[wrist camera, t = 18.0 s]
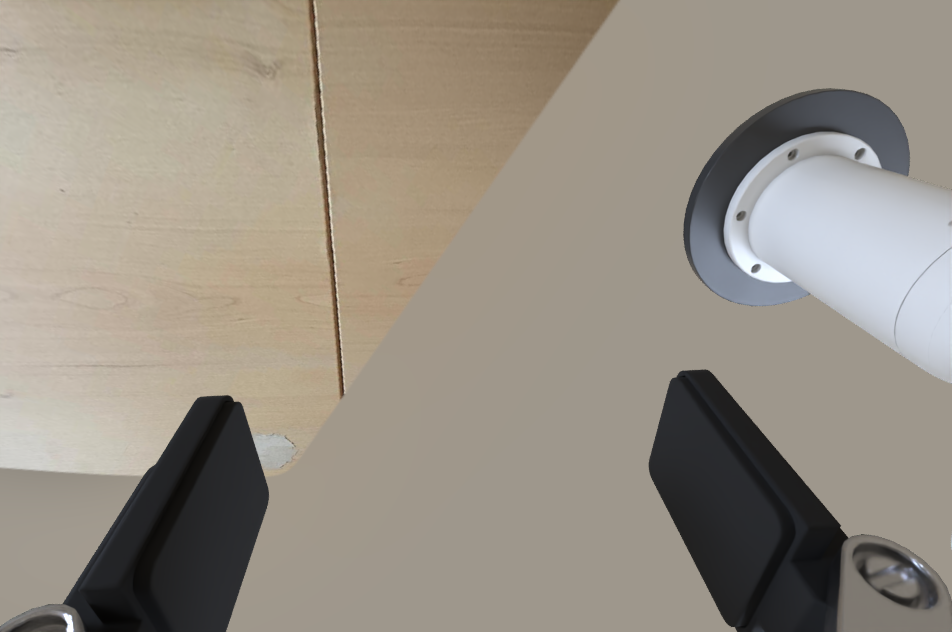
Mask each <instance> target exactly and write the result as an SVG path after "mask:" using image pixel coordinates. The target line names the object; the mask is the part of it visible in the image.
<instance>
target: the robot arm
mask: <svg viewBox="0 0 952 632" xmlns="http://www.w3.org/2000/svg"><path fill="white" fill-rule="evenodd" d="M724 243H725V246H726V249H727V252H728V255H729V256H730V258H731V259H732V261H733V263H734V264H735V265H736V266H738V267H739V268H740V269H741V270H742V271H743V272H745V273H746V274H747V275H749V276H751V277H753V278H755V279H758V280H760V281H765V282H771V283H781V282H790V281H793V282H794V283H795V284H797V285H798V286H800V287H801V288H803V289H804V290H806V291H807V292H809V293H810V294H812V295H813V296H815V297H816V298H818V299H819V300H821V301H822V302H824V303H825V304H827V305H828V306H829V307H831V308H832V309H834V310H835V311H837V312H838V313H840V314H841V315H843V316H844V317H846V318H847V319H849V320H850V321H852V322H853V323H855V324H856V325H858V326H859V327H860V328H862V329H863V330H865V331H866V332H868V333H869V334H871V335H872V336H874V337H875V338H877V339H878V340H880V341H881V342H883V343H884V344H885V345H887V346H889V347H890V348H892V349H893V350H895V351H896V352H897V353H899V354H901V355H902V356H904V357H905V358H907V359H908V360H910V361H911V362H913V363H914V364H916V365H917V366H919V367H920V368H922V369H923V370H925V371H926V372H928V373H930V374H932V375H933V376H935V377H937V378H939V379H942V380H944V381H946V382H949V383H951V384H952V189H948V188H945V187H942V186H938V185H935V184H932V183H928V182H925V181H922V180H918V179H915V178H911V177H908V176H905V175H902V174H898V173H895V172H891V171H888V170H885V169H882V167H881V165H880V162H879V159H878V156H877V155H876V154H875V152H874V151H873V150H872V148H871V147H870V146H869V145H868V144H866V143H865V142H864V141H862V140H861V139H859V138H856V137H853V136H850V135H848V134H843V133H838V132H816V133H811V134H806V135H802V136H800V137H797V138H795V139H792V140H790V141H788V142H786V143H784V144H782V145H781V146H779V147H777V148H776V149H774V150H773V151H771V152H770V153H769V154H768V155H766V156H765V157H764V158H763V159H761V160H760V161H759V162H758V163H757V164H756V165H755V166H754V167H753V168H752V169H751V170H750V171H749V173H748V174H747V175H746V176H745V178H744V179H743V180H742V182H741V183H740V185H739V186H738V188H737V189H736V191H735V193H734V195H733V197H732V199H731V201H730V204H729V207H728V210H727V213H726V216H725V223H724ZM649 472H650V475H651V478H652V480H653V482H654V484H655V486H656V488H657V490H658V492H659V494H660V496H661V498H662V500H663V502H664V504H665V506H666V508H667V509H668V511H669V513H670V515H671V517H672V519H673V521H674V523H675V525H676V527H677V529H678V531H679V533H680V535H681V537H682V539H683V541H684V543H685V545H686V546H687V549H688V551H689V552H690V554H691V556H692V558H693V560H694V562H695V564H696V566H697V568H698V570H699V572H700V574H701V576H702V578H703V580H704V582H705V584H706V586H707V588H708V590H709V592H710V593H711V596H712V598H713V599H714V601H715V603H716V605H717V607H718V609H719V611H720V613H721V615H722V617H723V619H724V620H725V622H726V623H727V624H728V625H729V626H731V627H735V628H736V630H737V632H952V601H951V597H950V594H949V592H948V589H947V586H946V585H945V583H944V582H943V581H942V579H941V578H940V576H939V575H938V574H937V572H936V571H934V570H933V569H932V568H931V567H930V566H929V565H928V564H927V563H926V562H925V561H924V560H923V559H921V558H920V557H918V556H917V555H916V554H914V553H913V552H911V551H910V550H909V549H907V548H905V547H903V546H901V545H899V544H897V543H895V542H893V541H890V540H888V539H885V538H882V537H878V536H872V535H864V534H861V535H856V536H852V537H850V538H848V537H847V536H846V534H845V533H844V532H843V531H842V530H841V529H840V526H841V525H840V524H839V523H838V522H837V520H836V519H835V518H834V517H833V516H832V514H831V513H830V512H829V511H828V510H827V509H826V507H825V506H824V505H823V504H822V503H821V501H820V500H819V499H818V498H817V497H816V496H815V495H814V493H813V492H812V491H811V490H810V488H809V487H808V486H807V485H806V484H805V483H804V481H803V480H802V479H801V478H800V477H799V476H798V474H797V473H796V472H795V471H794V470H793V468H792V467H791V466H790V465H789V464H788V462H787V461H786V460H785V459H784V458H783V457H782V456H781V454H780V453H779V452H778V451H777V450H776V448H775V447H774V446H773V445H772V444H771V442H770V441H769V440H768V439H767V438H766V436H765V435H764V434H763V433H762V432H761V431H760V429H759V428H758V427H757V426H756V425H755V424H754V423H753V421H752V420H751V419H750V418H749V416H748V415H747V414H746V413H745V412H744V410H742V408H741V407H740V406H739V405H738V403H737V402H736V401H735V400H734V399H733V397H732V396H731V395H730V394H729V393H728V392H727V390H726V389H725V388H724V387H723V386H722V384H721V383H720V382H719V381H718V380H717V379H716V377H715V376H714V375H713V374H712V373H711V372H710V371H708V370H689V371H681V372H679V374H678V375H677V377H676V378H672V380H671V381H670V384H669V388H668V391H667V395H666V399H665V403H664V406H663V410H662V414H661V418H660V422H659V425H658V429H657V433H656V437H655V441H654V444H653V448H652V452H651V456H650V460H649ZM268 500H269V491H268V486H267V483H266V480H265V476H264V473H263V470H262V467H261V463H260V460H259V457H258V454H257V451H256V447H255V444H254V441H253V438H252V435H251V431H250V428H249V425H248V422H247V419H246V415H245V412H244V409H243V406H242V404H241V403H240V402H234V401H233V398H232V397H231V396H228V395H225V396H206V397H199V398H197V400H196V401H195V402H194V404H193V405H192V407H191V409H190V410H189V412H188V413H187V415H186V417H185V418H184V420H183V421H182V423H181V425H180V426H179V428H178V429H177V431H176V433H175V434H174V436H173V438H172V439H171V441H170V442H169V444H168V446H167V447H166V449H165V450H164V452H163V454H162V455H161V457H160V458H159V460H158V462H157V463H156V465H154V466H152V467H151V468H149V470H148V471H147V472H146V473H145V475H144V476H143V478H142V479H141V481H140V483H139V484H138V486H137V487H136V489H135V491H134V492H133V493H132V495H131V497H130V498H129V500H128V501H127V503H126V505H125V506H124V508H123V509H122V511H121V513H120V514H119V516H118V517H117V519H116V520H115V522H114V524H113V525H112V527H111V528H110V530H109V531H108V533H107V535H106V536H105V538H104V539H103V541H102V543H101V544H100V546H99V547H98V549H97V550H96V552H95V554H94V555H93V557H92V558H91V560H90V562H89V563H88V565H87V566H86V568H85V569H84V571H83V573H82V574H81V576H80V577H79V579H78V581H77V582H76V584H75V585H74V587H73V588H72V590H71V592H70V593H69V595H68V596H67V598H66V600H65V601H64V603H63V604H48V605H45V606H41V607H38V608H33V609H31V610H28V611H26V612H24V613H22V614H20V615H18V616H16V617H14V618H12V619H10V620H9V621H7V622H6V623H4V624H3V625H2V626H0V632H226V630H227V627H228V624H229V621H230V618H231V615H232V611H233V608H234V605H235V602H236V600H237V596H238V593H239V590H240V587H241V584H242V581H243V578H244V575H245V572H246V569H247V566H248V563H249V560H250V557H251V554H252V551H253V548H254V545H255V542H256V539H257V536H258V532H259V529H260V527H261V524H262V521H263V518H264V514H265V512H266V509H267V505H268ZM951 548H952V537H951Z"/></svg>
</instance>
